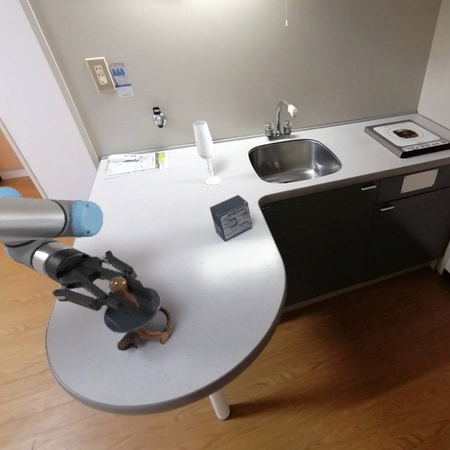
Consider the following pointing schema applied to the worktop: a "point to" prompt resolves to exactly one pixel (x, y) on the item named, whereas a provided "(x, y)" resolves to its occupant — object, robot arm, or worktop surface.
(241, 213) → the small box
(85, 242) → the worktop surface
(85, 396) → the worktop surface
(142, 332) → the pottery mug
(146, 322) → the lid
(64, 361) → the worktop surface
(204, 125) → the champagne flute
